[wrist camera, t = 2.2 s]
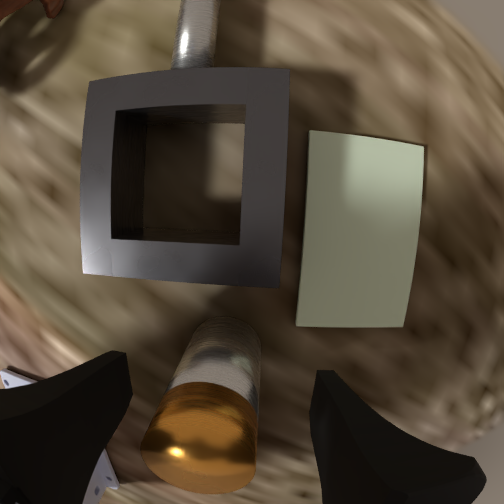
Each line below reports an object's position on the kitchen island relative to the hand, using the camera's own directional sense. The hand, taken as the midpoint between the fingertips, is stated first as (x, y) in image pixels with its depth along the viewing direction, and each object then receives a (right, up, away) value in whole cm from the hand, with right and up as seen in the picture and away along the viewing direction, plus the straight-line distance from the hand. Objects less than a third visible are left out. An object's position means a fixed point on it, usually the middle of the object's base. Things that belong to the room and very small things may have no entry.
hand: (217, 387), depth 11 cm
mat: (+6, +6, +2) cm, 8 cm away
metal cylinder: (0, +1, +3) cm, 3 cm away
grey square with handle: (-1, +11, +1) cm, 11 cm away
